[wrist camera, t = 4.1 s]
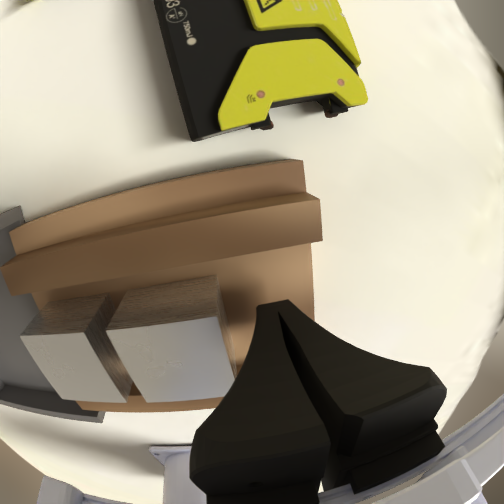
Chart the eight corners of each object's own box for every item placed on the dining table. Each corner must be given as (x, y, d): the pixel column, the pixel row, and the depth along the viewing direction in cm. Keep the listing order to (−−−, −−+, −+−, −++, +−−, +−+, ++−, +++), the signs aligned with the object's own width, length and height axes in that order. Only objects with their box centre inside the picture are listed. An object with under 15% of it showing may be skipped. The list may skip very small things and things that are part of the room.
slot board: (308, 365, 16) (322, 400, 13) (103, 389, 15) (92, 421, 12) (292, 159, 11) (316, 162, 8) (24, 223, 10) (-9, 241, 8)
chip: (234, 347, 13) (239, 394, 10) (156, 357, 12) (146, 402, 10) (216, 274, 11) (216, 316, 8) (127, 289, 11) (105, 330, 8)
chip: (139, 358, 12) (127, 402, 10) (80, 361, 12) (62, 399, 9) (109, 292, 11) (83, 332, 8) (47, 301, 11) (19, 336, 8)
